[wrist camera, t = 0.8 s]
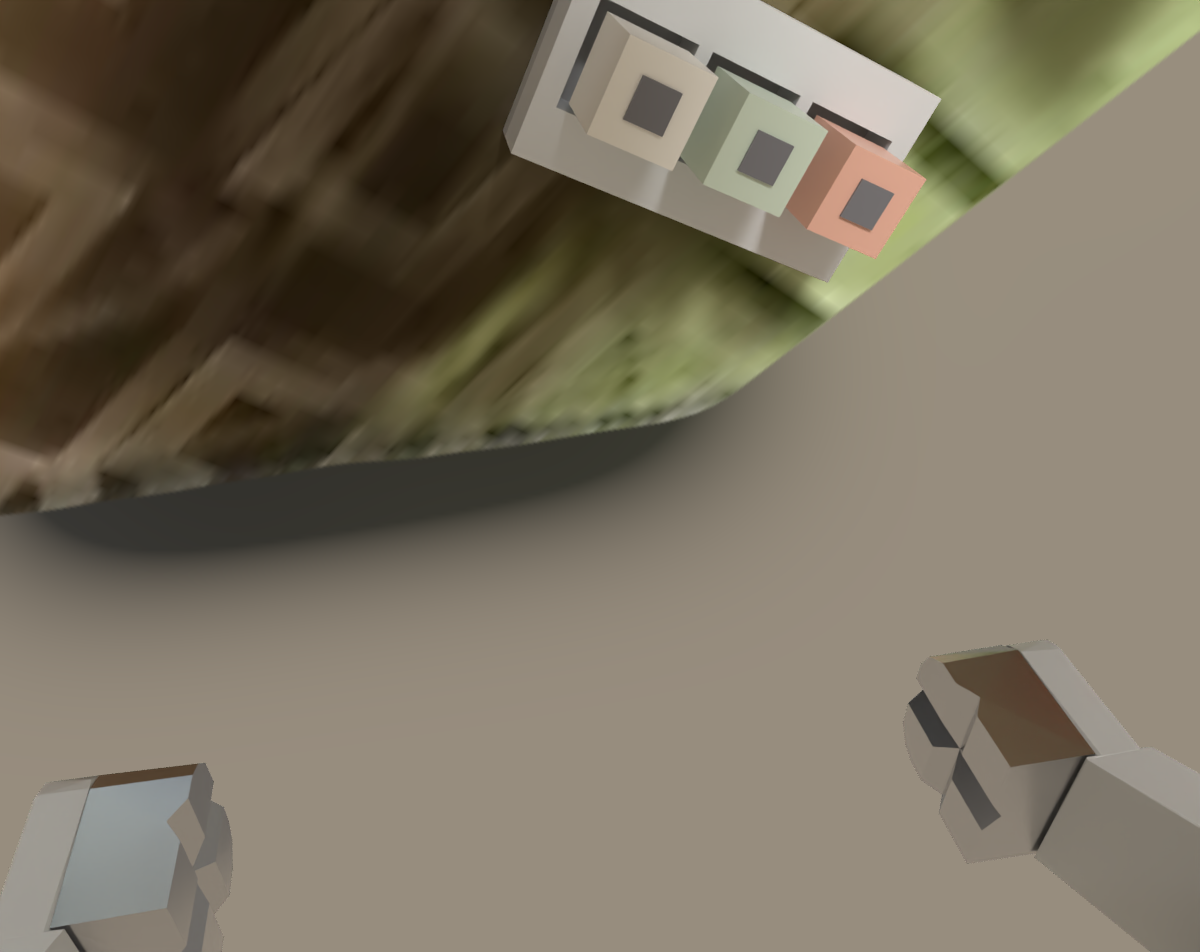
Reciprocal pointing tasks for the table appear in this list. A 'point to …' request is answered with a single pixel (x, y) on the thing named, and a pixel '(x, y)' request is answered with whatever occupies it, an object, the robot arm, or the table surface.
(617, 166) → the grey piece
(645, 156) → the key
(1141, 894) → the robot arm
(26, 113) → the table surface
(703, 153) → the key
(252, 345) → the table surface
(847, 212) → the key
